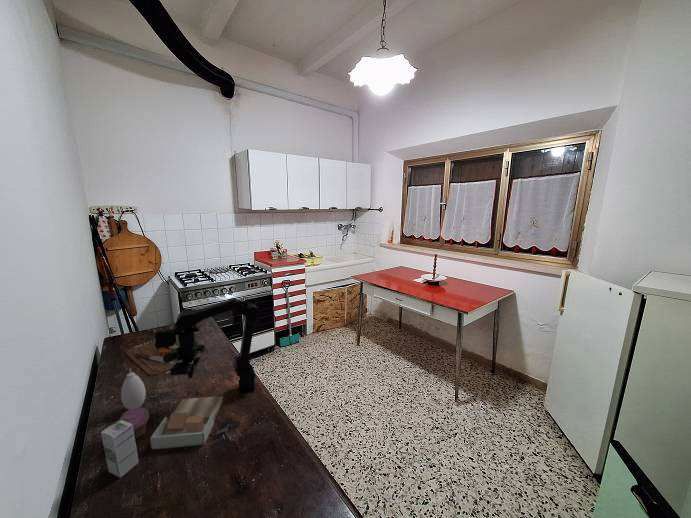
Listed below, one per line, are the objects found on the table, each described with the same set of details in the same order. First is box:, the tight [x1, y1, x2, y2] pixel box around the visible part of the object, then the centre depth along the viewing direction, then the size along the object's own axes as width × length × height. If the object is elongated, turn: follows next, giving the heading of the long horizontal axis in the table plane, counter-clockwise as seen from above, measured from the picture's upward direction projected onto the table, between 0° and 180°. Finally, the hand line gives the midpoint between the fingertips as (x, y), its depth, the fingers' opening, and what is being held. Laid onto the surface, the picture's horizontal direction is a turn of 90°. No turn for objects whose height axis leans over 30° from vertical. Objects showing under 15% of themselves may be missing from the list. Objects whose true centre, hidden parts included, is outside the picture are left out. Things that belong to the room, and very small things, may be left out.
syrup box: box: [100, 420, 139, 478], centre depth 84 cm, size 6×6×14 cm
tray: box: [149, 413, 215, 451], centre depth 97 cm, size 17×10×4 cm, turn 97°
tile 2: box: [185, 416, 204, 433], centre depth 98 cm, size 5×5×3 cm
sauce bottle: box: [120, 368, 147, 410], centre depth 109 cm, size 8×8×18 cm
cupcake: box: [118, 407, 150, 440], centre depth 96 cm, size 9×9×10 cm
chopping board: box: [125, 335, 205, 377], centre depth 153 cm, size 45×27×3 cm, turn 54°
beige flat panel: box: [167, 395, 224, 423], centre depth 108 cm, size 16×12×2 cm
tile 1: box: [167, 412, 188, 431], centre depth 100 cm, size 5×5×3 cm
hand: (190, 377), depth 111 cm, fingers closed
